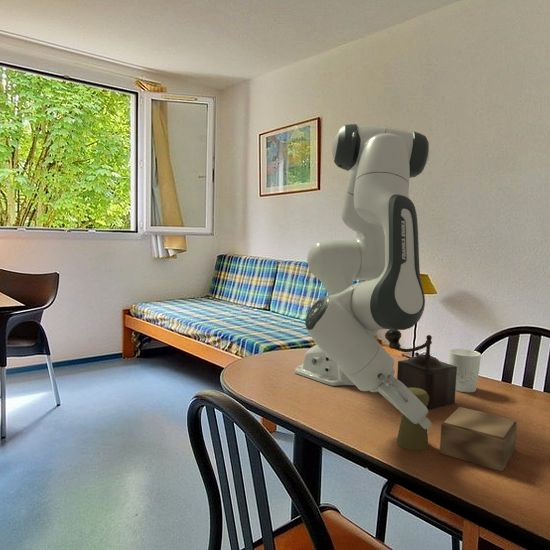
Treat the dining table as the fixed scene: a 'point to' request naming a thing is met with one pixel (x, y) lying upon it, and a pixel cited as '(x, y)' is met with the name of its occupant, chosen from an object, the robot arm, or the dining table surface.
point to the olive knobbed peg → (413, 427)
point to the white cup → (465, 368)
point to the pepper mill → (425, 372)
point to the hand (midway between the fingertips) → (415, 415)
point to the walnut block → (478, 438)
